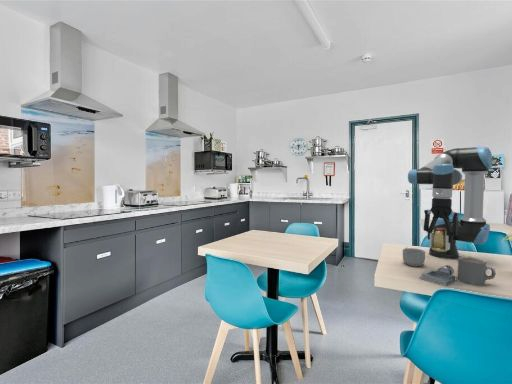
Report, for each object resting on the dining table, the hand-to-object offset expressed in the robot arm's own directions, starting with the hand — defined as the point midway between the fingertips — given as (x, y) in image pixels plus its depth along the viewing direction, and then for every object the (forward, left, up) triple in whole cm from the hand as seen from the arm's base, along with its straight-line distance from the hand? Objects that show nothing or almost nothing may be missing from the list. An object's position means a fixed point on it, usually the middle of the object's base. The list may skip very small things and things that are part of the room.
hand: (439, 248), depth 129 cm
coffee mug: (-11, +11, -15) cm, 22 cm away
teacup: (-16, -19, -15) cm, 29 cm away
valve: (0, 0, -1) cm, 1 cm away
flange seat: (-3, 0, -15) cm, 15 cm away
